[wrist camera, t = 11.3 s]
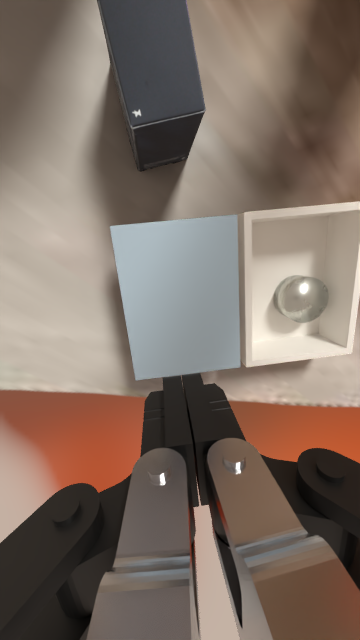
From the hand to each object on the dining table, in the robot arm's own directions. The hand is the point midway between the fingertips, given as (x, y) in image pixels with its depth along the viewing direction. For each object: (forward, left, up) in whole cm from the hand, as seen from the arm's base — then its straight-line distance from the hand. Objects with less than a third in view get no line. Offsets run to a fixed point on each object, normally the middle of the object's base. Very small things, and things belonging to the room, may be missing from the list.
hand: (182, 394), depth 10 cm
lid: (-1, +1, -18) cm, 18 cm away
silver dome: (-15, +10, -24) cm, 30 cm away
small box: (-9, -18, -24) cm, 31 cm away
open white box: (-14, +7, -24) cm, 29 cm away
